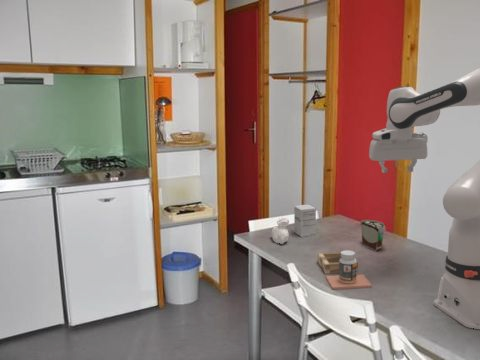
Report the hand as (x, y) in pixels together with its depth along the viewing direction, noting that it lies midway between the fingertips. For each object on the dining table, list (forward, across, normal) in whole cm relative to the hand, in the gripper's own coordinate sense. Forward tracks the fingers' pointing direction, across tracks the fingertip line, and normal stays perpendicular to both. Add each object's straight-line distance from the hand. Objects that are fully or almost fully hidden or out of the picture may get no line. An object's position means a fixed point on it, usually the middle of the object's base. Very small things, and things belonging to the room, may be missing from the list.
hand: (397, 172), depth 168 cm
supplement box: (+34, +26, -37) cm, 57 cm away
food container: (+34, +1, -17) cm, 38 cm away
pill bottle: (+34, +22, +16) cm, 43 cm away
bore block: (+34, +22, +2) cm, 41 cm away
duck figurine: (+34, +38, -29) cm, 59 cm away
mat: (+34, +22, +16) cm, 44 cm away
